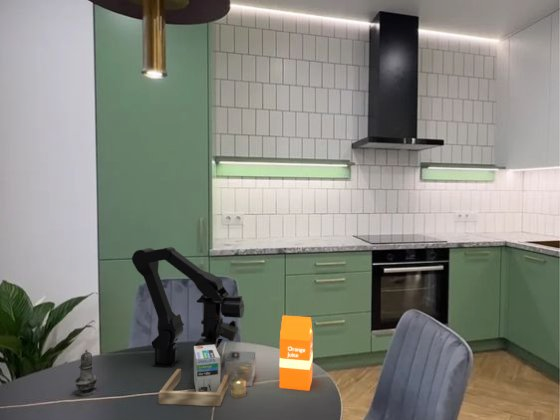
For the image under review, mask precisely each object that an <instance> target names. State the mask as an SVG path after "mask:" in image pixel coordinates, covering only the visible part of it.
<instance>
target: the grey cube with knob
mask: <svg viewBox="0 0 560 420" xmlns="http://www.w3.org/2000/svg"><path fill="white" fill-rule="evenodd" d="M256 361H257V360H256V351H240V350H239V351H237V350H236V351H235V350H234V351H233V350H230V351H229V352H228V355H227V356H226V358H225V360H224V375H229V386H231V380H232V379H233V378H236V377H243V378H245V379H246V387H252V386H253V383H254V379H255V376H256V369H257V367H256Z"/></svg>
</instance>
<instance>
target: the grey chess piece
mask: <svg viewBox="0 0 560 420" xmlns="http://www.w3.org/2000/svg"><path fill="white" fill-rule="evenodd" d="M93 366H94V363H93V354H92V353H91V352H89V351H88V349H85V351H84V352H83V353H82V354H81V355H80V365H79V366H78V367H79V371H80V373H79V377H77V378H75V379H74V384H75V386H76V388H77V390H76V392H75V396H77V397H88V396H91V395H93V394H95V393H96V392H97V390H98V389H97V388H96V387H95V385H96V383H97V380H98V378H99V377H98V375H97V374H94V373H93Z"/></svg>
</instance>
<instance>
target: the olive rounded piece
mask: <svg viewBox="0 0 560 420" xmlns="http://www.w3.org/2000/svg"><path fill="white" fill-rule="evenodd" d="M230 386H231V391H230V393H231V394H230V396H231V395H232V396H231V397H232V398H234V399H242V398H244V397H246V394H247V392H246V389H247V386H246V379H245V378H243V377H236V378H233V379H232V380H231V385H230Z"/></svg>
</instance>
